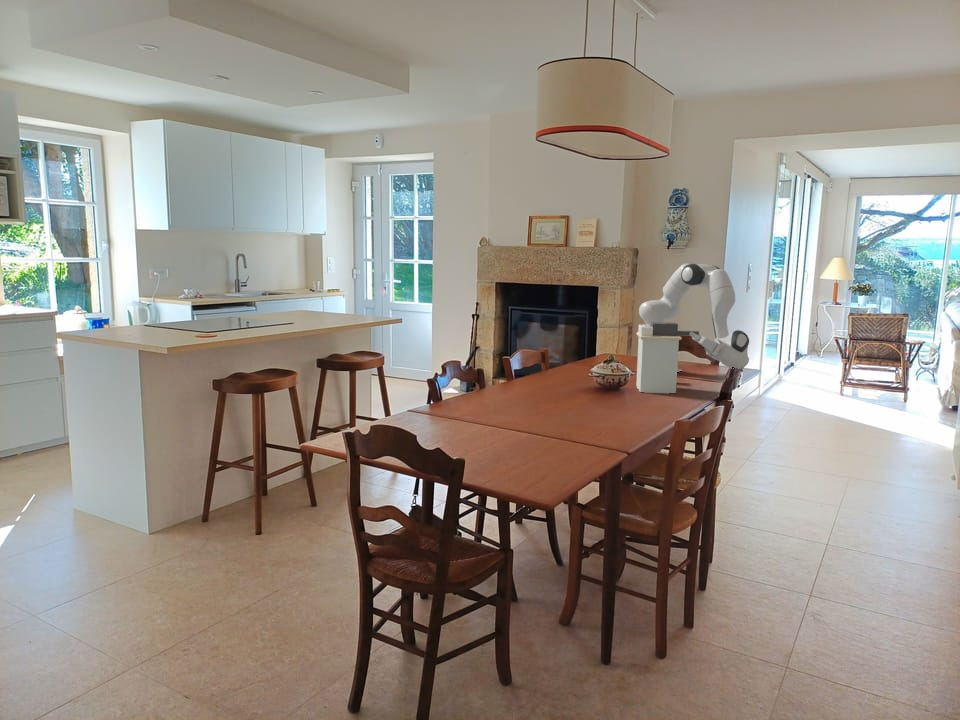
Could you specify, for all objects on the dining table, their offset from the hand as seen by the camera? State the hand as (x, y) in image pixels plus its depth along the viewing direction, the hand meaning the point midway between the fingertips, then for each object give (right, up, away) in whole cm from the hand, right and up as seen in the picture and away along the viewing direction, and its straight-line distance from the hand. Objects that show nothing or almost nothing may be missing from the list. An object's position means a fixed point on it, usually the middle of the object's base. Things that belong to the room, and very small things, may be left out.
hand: (688, 332), depth 315 cm
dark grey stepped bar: (-8, -1, +1) cm, 8 cm away
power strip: (-20, -1, +2) cm, 20 cm away
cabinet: (-14, -27, +6) cm, 31 cm away
